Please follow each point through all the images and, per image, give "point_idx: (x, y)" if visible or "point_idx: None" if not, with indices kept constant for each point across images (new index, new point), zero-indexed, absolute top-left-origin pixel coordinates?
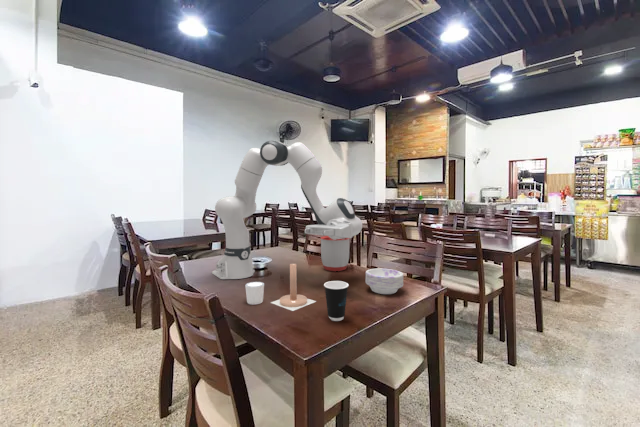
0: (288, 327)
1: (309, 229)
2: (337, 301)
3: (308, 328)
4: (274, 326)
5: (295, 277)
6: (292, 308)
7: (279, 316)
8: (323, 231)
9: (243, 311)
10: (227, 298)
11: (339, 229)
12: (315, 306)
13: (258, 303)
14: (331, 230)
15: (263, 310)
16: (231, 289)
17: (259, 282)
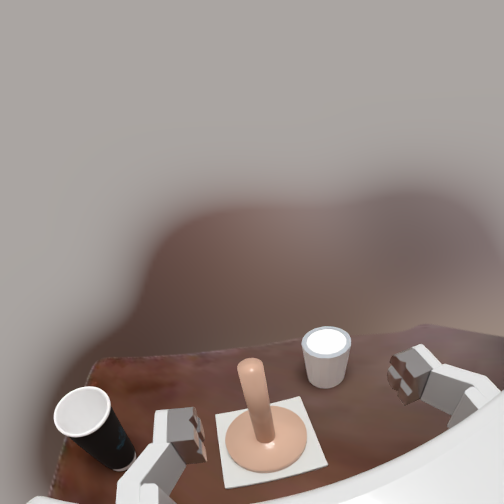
0: (167, 381)
1: (408, 373)
2: (86, 418)
3: (137, 399)
4: (188, 369)
5: (245, 399)
6: (228, 420)
7: (217, 389)
8: (176, 409)
9: (288, 350)
10: (380, 337)
11: (48, 498)
12: (204, 471)
13: (307, 375)
14: (127, 473)
15: (269, 377)
16: (439, 344)
17: (338, 351)
